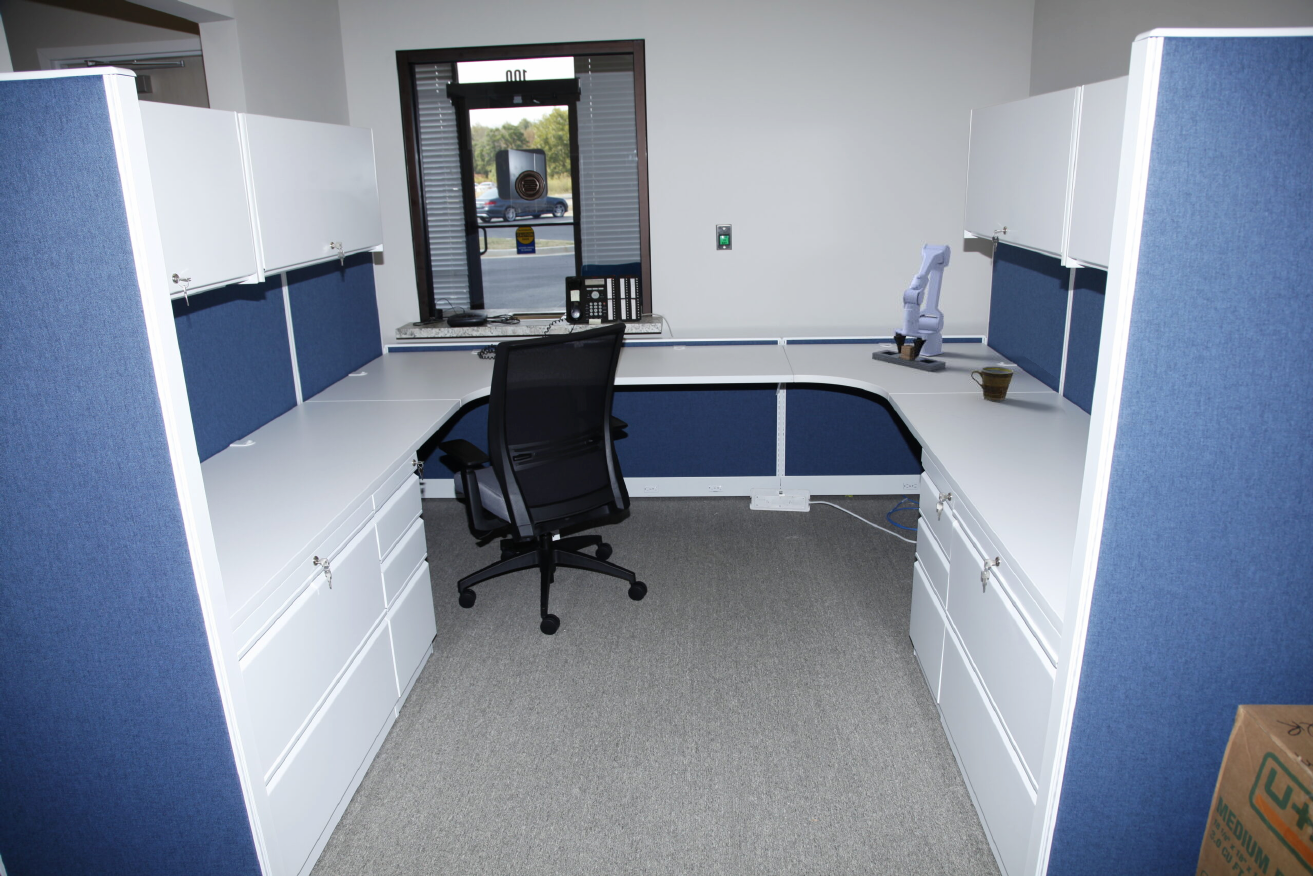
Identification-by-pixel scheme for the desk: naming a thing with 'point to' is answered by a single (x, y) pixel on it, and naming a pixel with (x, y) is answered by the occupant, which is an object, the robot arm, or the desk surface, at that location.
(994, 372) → the ceramic cup
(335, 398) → the desk surface
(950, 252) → the robot arm
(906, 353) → the square peg
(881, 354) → the grey square hole board
